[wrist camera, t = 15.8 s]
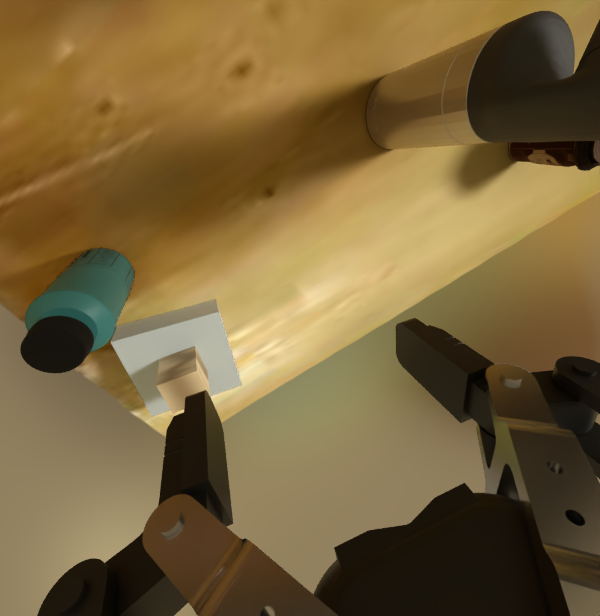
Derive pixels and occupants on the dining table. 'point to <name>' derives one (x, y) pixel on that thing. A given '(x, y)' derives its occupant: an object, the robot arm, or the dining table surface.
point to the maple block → (181, 377)
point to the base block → (176, 349)
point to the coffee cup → (558, 153)
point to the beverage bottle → (77, 311)
